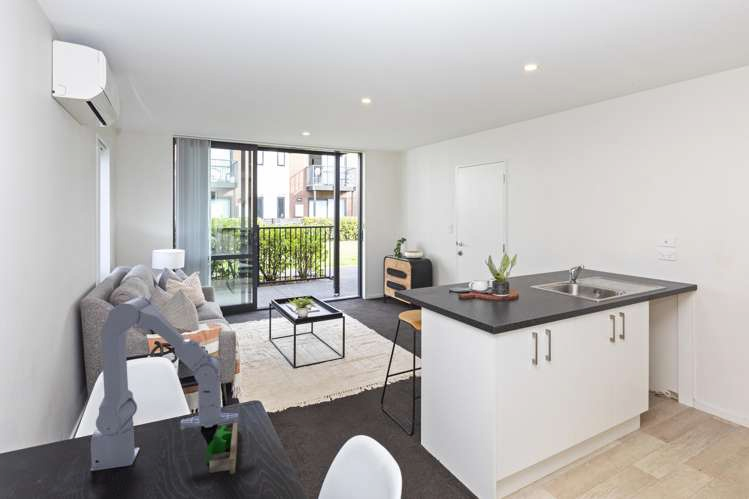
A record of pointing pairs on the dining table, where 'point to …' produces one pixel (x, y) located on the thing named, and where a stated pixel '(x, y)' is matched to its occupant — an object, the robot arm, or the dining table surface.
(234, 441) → the wooden drawer handle
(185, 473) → the dining table surface
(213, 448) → the pipe clamp
